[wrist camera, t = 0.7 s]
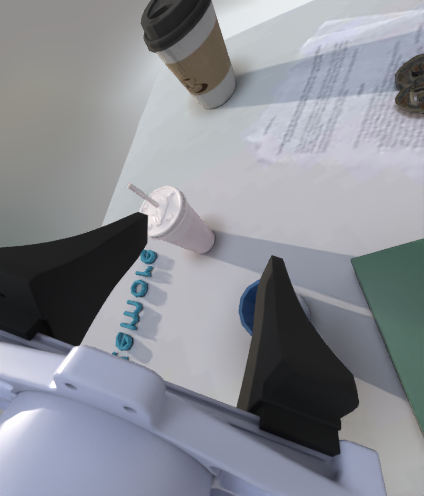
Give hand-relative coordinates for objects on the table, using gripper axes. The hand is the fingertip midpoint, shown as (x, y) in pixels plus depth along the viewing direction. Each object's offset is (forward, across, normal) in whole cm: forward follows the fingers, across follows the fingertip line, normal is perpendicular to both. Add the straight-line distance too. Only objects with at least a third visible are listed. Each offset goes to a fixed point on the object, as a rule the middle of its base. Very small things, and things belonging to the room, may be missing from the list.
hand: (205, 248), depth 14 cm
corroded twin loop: (+27, -16, -9) cm, 32 cm away
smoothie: (+17, +3, +13) cm, 21 cm away
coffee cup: (+41, +10, -1) cm, 42 cm away
